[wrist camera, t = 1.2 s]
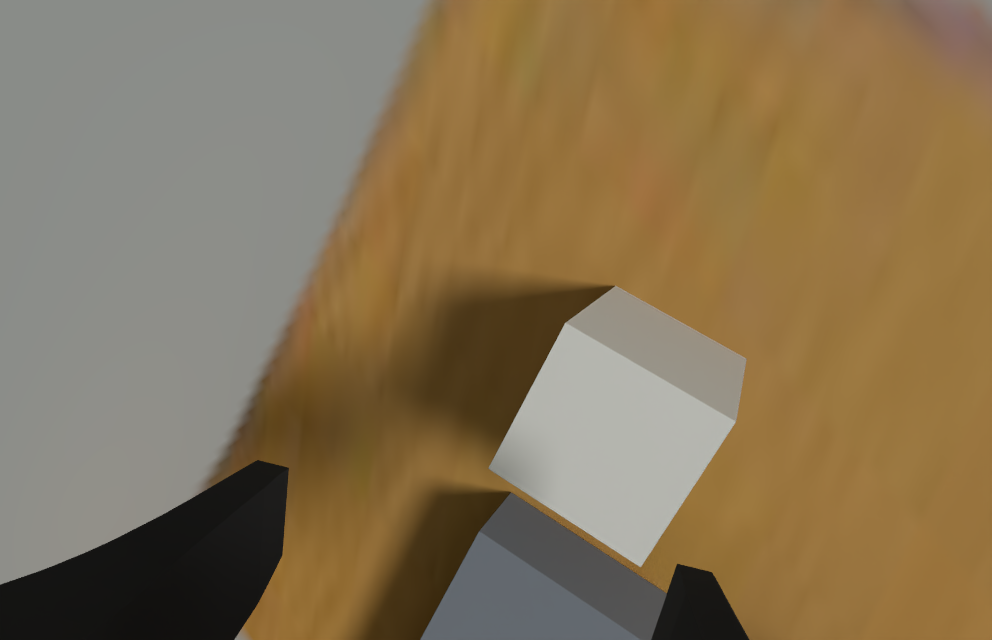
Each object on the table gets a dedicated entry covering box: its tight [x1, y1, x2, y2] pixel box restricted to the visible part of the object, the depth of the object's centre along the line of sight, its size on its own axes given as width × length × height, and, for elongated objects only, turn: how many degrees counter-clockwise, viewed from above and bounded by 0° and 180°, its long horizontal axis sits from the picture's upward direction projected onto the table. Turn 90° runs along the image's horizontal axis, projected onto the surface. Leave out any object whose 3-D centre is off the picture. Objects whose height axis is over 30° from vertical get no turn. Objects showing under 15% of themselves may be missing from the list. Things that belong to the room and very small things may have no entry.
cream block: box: [488, 286, 746, 567], centre depth 21 cm, size 4×4×6 cm
